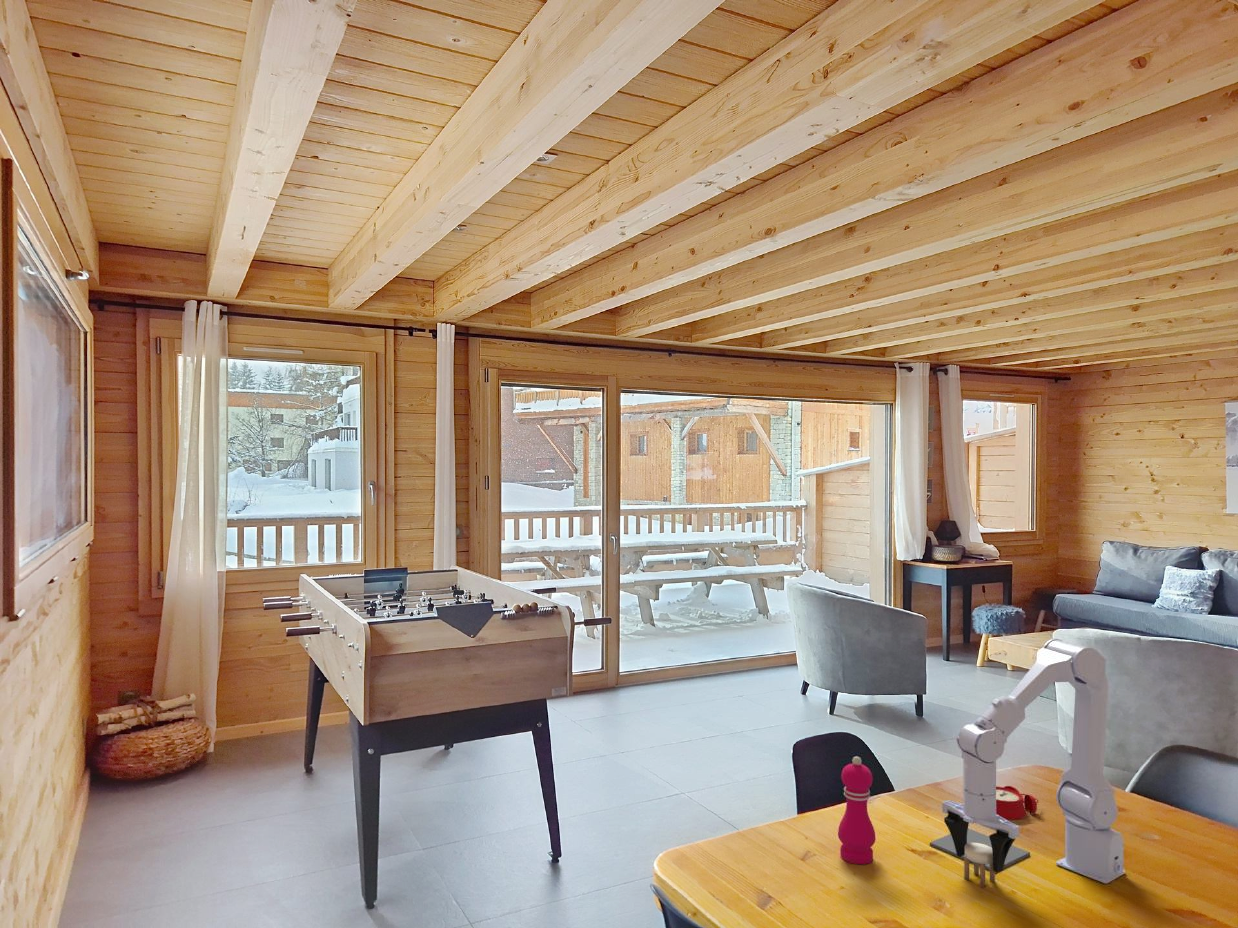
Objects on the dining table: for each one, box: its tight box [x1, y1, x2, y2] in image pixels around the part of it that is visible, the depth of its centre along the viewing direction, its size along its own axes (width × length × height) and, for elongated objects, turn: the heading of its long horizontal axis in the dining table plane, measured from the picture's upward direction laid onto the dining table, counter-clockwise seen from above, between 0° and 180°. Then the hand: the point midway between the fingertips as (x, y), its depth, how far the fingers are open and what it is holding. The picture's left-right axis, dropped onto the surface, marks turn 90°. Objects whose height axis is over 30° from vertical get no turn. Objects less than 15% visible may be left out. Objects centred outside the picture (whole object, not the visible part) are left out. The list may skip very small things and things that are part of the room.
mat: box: [929, 827, 1031, 872], centre depth 166 cm, size 14×13×1 cm
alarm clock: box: [996, 785, 1039, 820], centre depth 187 cm, size 10×6×15 cm
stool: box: [963, 843, 996, 888], centre depth 154 cm, size 5×5×6 cm
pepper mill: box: [837, 756, 876, 865], centre depth 163 cm, size 7×7×20 cm
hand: (979, 862), depth 154 cm, fingers open, 7 cm apart
